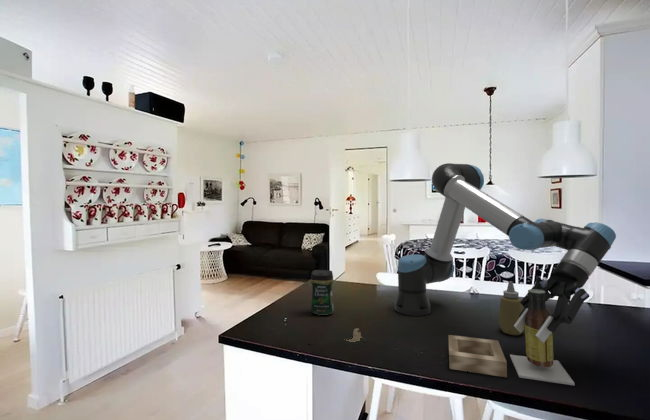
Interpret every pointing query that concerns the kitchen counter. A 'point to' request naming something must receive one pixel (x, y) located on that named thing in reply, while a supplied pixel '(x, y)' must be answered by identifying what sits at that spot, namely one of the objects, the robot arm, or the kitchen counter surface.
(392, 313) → the kitchen counter surface
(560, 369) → the grey mat
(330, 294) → the coffee jar
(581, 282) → the robot arm
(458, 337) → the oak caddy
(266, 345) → the kitchen counter surface
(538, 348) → the sauce bottle
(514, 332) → the squeeze bottle
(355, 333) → the jawbone
